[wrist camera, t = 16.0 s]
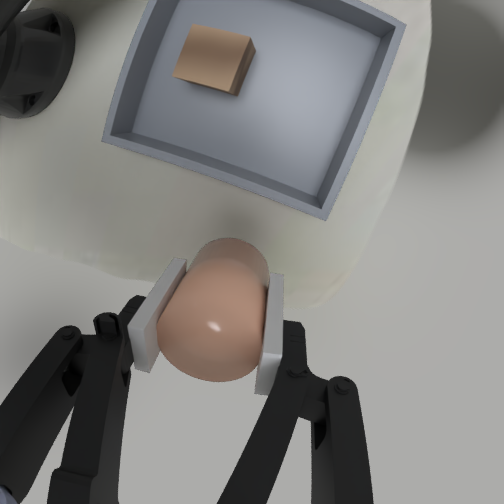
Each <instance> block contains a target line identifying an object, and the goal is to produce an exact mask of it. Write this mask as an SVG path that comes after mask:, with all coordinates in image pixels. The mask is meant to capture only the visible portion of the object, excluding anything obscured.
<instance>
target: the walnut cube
mask: <svg viewBox="0 0 504 504" xmlns="http://www.w3.org/2000/svg"><path fill="white" fill-rule="evenodd" d="M255 52H256V49H255V47H254V44H253V42H252V39H251V37H249V36H245V35H241V34H238V33H234V32H230V31H225V30H221V29H217V28H212V27H207V26H202V25H197V24H192V26H191V28H190V31H189V33H188V36H187V38H186V40H185V43H184V45H183V48H182V50H181V53H180V55H179V58H178V61H177V63H176V66H175V69H174V71H173V74H172V77H175V78H178V79H180V80H183V81H186V82H189V83H192V84H196V85H200V86H203V87H207V88H211V89H214V90H217V91H221V92H224V93H228V94H231V95H234V96H237V97H238V95H239V92H240V90H241V87H242V85H243V82H244V79H245V77H246V74H247V72H248V69H249V67H250V64H251V62H252V59H253V57H254V55H255Z"/></svg>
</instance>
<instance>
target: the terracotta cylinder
mask: <svg viewBox="0 0 504 504" xmlns="http://www.w3.org/2000/svg"><path fill="white" fill-rule="evenodd" d="M268 284H269V269H268V265H267V262H266V260H265V258H264V257H263V255H262V254H261V253H260V252H259V250H257V249H256V248H255V247H254V246H252V245H251V244H249V243H247V242H245V241H242V240H240V239H235V238H221V239H217V240H214V241H211V242H209V243H208V244H206V245H205V246H204V247H202V248H201V250H200V251H199V252H198V254H197V255H196V257H195V258H194V260H193V262H192V263H191V265H190V267H189V269H188V270H187V272H186V274H185V275H184V277H183V279H182V280H181V282H180V284H179V285H178V287H177V289H176V291H175V292H174V294H173V296H172V298H171V299H170V301H169V303H168V304H167V306H166V308H165V310H164V311H163V313H162V315H161V317H160V319H159V320H158V323H157V326H156V329H157V341H158V346H159V348H160V350H161V352H162V353H163V355H164V356H165V357H166V359H167V360H168V361H169V362H170V363H171V364H172V365H174V366H175V367H176V368H177V369H179V370H180V371H182V372H184V373H186V374H188V375H190V376H192V377H195V378H198V379H201V380H205V381H212V382H226V381H232V380H236V379H239V378H242V377H244V376H246V375H247V374H249V373H250V372H252V371H253V370H254V369H255V367H256V366H257V365H258V363H259V360H260V355H261V350H262V342H263V332H264V322H265V312H266V302H267V291H268Z"/></svg>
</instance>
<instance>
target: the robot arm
mask: <svg viewBox="0 0 504 504" xmlns="http://www.w3.org/2000/svg"><path fill="white" fill-rule="evenodd" d="M29 1H30V0H0V115H2V116H5V117H8V118H24V117H30V116H33V115H35V114H37V113H39V112H40V111H42V110H43V109H44V108H45V107H47V106H48V105H49V104H50V102H51V101H52V100H53V99H54V97H55V96H56V95H57V93H58V92H59V90H60V88H61V87H62V85H63V83H64V81H65V79H66V76H67V74H68V71H69V68H70V65H71V62H72V58H73V53H74V43H75V39H74V30H73V26H72V24H71V22H70V20H69V18H68V17H67V16H66V15H65V14H63V13H61V12H58V11H55V10H52V9H45V8H41V9H34V10H29V11H23V12H20V11H21V10H22V9H23V8H24V6H25V5H26V4H27V3H28V2H29ZM185 274H186V259H180V258H174V259H173V260H172V262H171V263H170V264H169V266H168V267H167V269H166V270H165V271H164V273H163V274H162V276H161V277H160V279H159V280H158V281H157V283H156V284H155V286H154V287H153V289H152V290H151V292H150V293H149V295H148V296H147V297H144V296H139V295H136V296H135V297H133V298H132V299H130V300H129V301H128V303H127V304H126V305H125V307H124V308H123V309H122V311H121V312H120V313H119V315H117V314H115V313H111V312H107V313H102V314H99V315H97V316H96V317H95V318H94V320H93V322H94V326H95V331H96V335H83V334H81V331H80V330H79V328H77V327H76V326H64V327H62V328H60V329H59V330H58V331H57V332H56V333H55V334H54V336H53V337H52V338H51V339H50V340H49V342H48V343H47V344H46V345H45V347H44V348H43V349H42V350H41V352H40V353H39V354H38V355H37V357H36V358H35V359H34V361H33V362H32V363H31V364H30V366H29V367H28V368H27V370H26V371H25V372H24V374H23V375H22V376H21V378H20V379H19V380H18V382H17V383H16V384H15V386H14V387H13V389H12V390H11V391H10V393H9V394H8V396H7V397H6V398H5V400H4V401H3V403H2V404H1V405H0V504H20V503H21V502H22V501H23V499H24V498H25V497H26V495H27V494H28V492H29V490H30V488H31V487H32V485H33V483H34V480H35V478H36V476H37V474H38V472H39V470H40V468H41V466H42V464H43V462H44V460H45V458H46V456H47V454H48V452H49V450H50V449H51V447H52V445H53V443H54V441H55V439H56V437H57V435H58V434H59V432H60V430H61V428H62V426H63V424H64V423H65V421H66V419H67V417H68V415H69V414H70V412H71V410H72V408H73V407H74V409H73V413H72V417H71V421H70V425H69V429H68V433H67V438H66V442H65V448H64V452H63V457H62V462H61V466H60V467H59V468H57V469H55V470H54V471H53V472H52V476H51V480H50V486H49V492H48V499H47V504H119V502H118V482H119V468H120V456H121V446H122V437H123V428H124V420H125V412H126V404H127V398H128V392H129V385H130V378H131V370H130V367H131V365H132V363H133V362H134V366H135V369H137V370H140V371H144V372H148V373H150V371H151V369H152V367H153V365H154V363H155V361H156V358H157V356H158V354H159V352H160V348H159V346H158V341H157V329H156V326H157V323H158V320H159V319H160V317H161V315H162V313H163V311H164V310H165V308H166V306H167V304H168V303H169V301H170V299H171V298H172V296H173V294H174V292H175V291H176V289H177V287H178V285H179V284H180V282H181V280H182V279H183V277H184V275H185ZM283 285H284V275H283V274H276V273H270V278H269V284H268V291H267V302H266V312H265V322H264V332H263V342H262V350H261V355H260V360H259V363H258V368H257V376H256V385H255V394H260V395H268V398H267V400H266V403H265V405H264V407H263V409H262V412H261V414H260V416H259V418H258V420H257V423H256V425H255V427H254V429H253V431H252V434H251V436H250V438H249V440H248V442H247V445H246V446H245V449H244V451H243V453H242V455H241V457H240V459H239V461H238V463H237V465H236V467H235V469H234V471H233V473H232V475H231V477H230V479H229V481H228V483H227V485H226V487H225V489H224V491H223V493H222V495H221V496H220V498H219V500H218V502H217V504H266V503H267V500H268V498H269V495H270V493H271V490H272V488H273V486H274V483H275V481H276V478H277V475H278V473H279V470H280V467H281V465H282V462H283V459H284V457H285V454H286V451H287V448H288V445H289V443H290V440H291V437H292V434H293V431H294V428H295V425H296V422H297V419H298V417H300V418H304V419H306V420H309V421H311V449H312V450H311V453H312V491H311V492H312V493H311V497H312V498H311V504H374V503H373V493H372V484H371V475H370V466H369V459H368V451H367V444H366V437H365V431H364V425H363V418H362V412H361V407H360V401H359V395H358V390H357V387H356V384H355V383H354V382H353V381H352V380H350V379H349V378H347V377H343V376H337V377H333V378H331V379H330V380H329V381H328V380H325V379H322V378H320V377H317V376H315V375H314V374H312V372H311V371H310V369H309V367H308V366H307V355H306V339H305V329H304V327H303V326H302V324H301V323H300V322H295V321H287V320H283Z"/></svg>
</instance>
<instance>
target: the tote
mask: <svg viewBox="0 0 504 504" xmlns="http://www.w3.org/2000/svg"><path fill="white" fill-rule="evenodd" d="M192 24H197V25H202V26H207V27H212V28H217V29H221V30H225V31H230V32H234V33H238V34H241V35H245V36H249V37H251V39H252V42H253V44H254V47H255V49H256V52H255V55H254V57H253V59H252V62H251V64H250V67H249V69H248V72H247V74H246V77H245V79H244V82H243V85H242V87H241V90H240V92H239V95H238V97H237V96H234V95H231V94H228V93H224V92H221V91H217V90H214V89H211V88H207V87H203V86H200V85H196V84H192V83H189V82H186V81H183V80H180V79H178V78H175V77H172V74H173V71H174V69H175V66H176V63H177V61H178V58H179V55H180V53H181V50H182V48H183V45H184V43H185V40H186V38H187V36H188V33H189V31H190V28H191V26H192ZM405 28H406V24H404V23H403V22H401V21H399V20H397V19H395V18H393V17H392V16H390V15H388V14H386V13H384V12H382V11H380V10H378V9H376V8H374V7H372V6H370V5H367V4H365V3H363V2H361V1H359V0H149V2H148V4H147V6H146V8H145V11H144V13H143V15H142V17H141V20H140V22H139V24H138V27H137V29H136V32H135V34H134V37H133V39H132V42H131V44H130V47H129V50H128V52H127V55H126V58H125V61H124V64H123V67H122V70H121V73H120V76H119V79H118V82H117V85H116V88H115V92H114V95H113V98H112V102H111V105H110V109H109V113H108V117H107V120H106V124H105V128H104V133H103V137H102V141H101V142H105V143H108V144H111V145H115V146H118V147H121V148H125V149H128V150H131V151H134V152H138V153H141V154H144V155H147V156H150V157H153V158H156V159H160V160H163V161H166V162H169V163H172V164H175V165H178V166H181V167H184V168H187V169H190V170H192V171H195V172H198V173H201V174H204V175H207V176H210V177H213V178H215V179H218V180H221V181H224V182H226V183H229V184H232V185H235V186H237V187H240V188H243V189H246V190H248V191H251V192H254V193H256V194H259V195H261V196H264V197H267V198H269V199H272V200H274V201H277V202H280V203H282V204H285V205H287V206H290V207H292V208H295V209H297V210H300V211H302V212H305V213H307V214H310V215H312V216H314V217H317V218H319V219H322V220H324V221H326V220H327V218H328V216H329V214H330V212H331V209H332V207H333V205H334V203H335V201H336V199H337V196H338V194H339V192H340V190H341V188H342V185H343V183H344V181H345V179H346V176H347V174H348V172H349V170H350V167H351V165H352V163H353V161H354V158H355V156H356V154H357V151H358V149H359V147H360V144H361V142H362V140H363V137H364V135H365V132H366V130H367V128H368V125H369V123H370V120H371V118H372V116H373V113H374V111H375V108H376V106H377V103H378V101H379V98H380V96H381V93H382V90H383V88H384V85H385V83H386V80H387V77H388V75H389V72H390V70H391V67H392V64H393V61H394V59H395V56H396V53H397V50H398V48H399V45H400V42H401V39H402V36H403V34H404V31H405Z"/></svg>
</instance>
